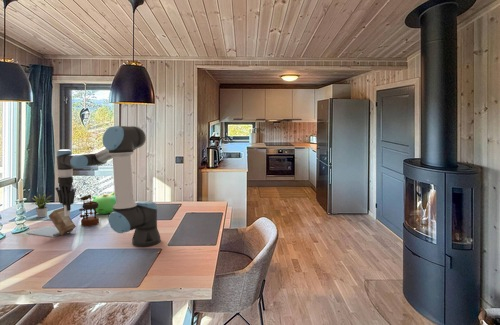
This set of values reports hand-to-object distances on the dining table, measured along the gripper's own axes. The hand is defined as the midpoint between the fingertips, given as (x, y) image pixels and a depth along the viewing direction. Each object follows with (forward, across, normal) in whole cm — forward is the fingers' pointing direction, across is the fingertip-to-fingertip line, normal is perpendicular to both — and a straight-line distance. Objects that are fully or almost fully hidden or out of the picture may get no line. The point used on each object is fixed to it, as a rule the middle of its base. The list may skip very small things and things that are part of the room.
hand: (67, 215), depth 181 cm
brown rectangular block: (+9, -1, 0) cm, 9 cm away
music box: (+11, +1, -20) cm, 23 cm away
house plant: (+12, +43, -22) cm, 50 cm away
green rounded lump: (+12, +9, -43) cm, 45 cm away
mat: (+11, +12, 0) cm, 16 cm away
